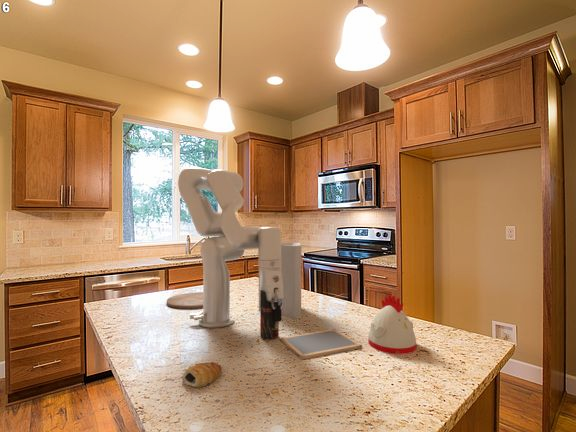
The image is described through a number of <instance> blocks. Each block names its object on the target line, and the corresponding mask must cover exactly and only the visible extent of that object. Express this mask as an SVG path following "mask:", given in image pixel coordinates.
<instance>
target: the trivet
mask: <svg viewBox="0 0 576 432" xmlns="http://www.w3.org/2000/svg"><path fill="white" fill-rule="evenodd" d="M166 306H167V307H169V308H172V309H177V310H198V309H201V310H202V309H203V291H202V292H201V291H199V292H196V291H195V292H188V293H187V292H186V293H179V294H175V295H173V296H170V297H168V298H167V299H166Z"/></svg>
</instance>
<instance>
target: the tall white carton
mask: <svg viewBox="0 0 576 432" xmlns="http://www.w3.org/2000/svg"><path fill="white" fill-rule="evenodd" d="M281 259H282V269H280V270H281V273H282V280H283V296H284V299H283V300H282V309H281V317H283V318H287V319H292V320H296V319H298V318H301V317H302V244H301V242H281ZM260 271H261V270H259V269H258V312H260Z"/></svg>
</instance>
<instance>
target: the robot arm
mask: <svg viewBox="0 0 576 432" xmlns="http://www.w3.org/2000/svg"><path fill="white" fill-rule="evenodd" d="M177 186H178V191H179V195H180V197H181V198H182V200H183V201H184V204H185V205H186V207H187V210H188V212H189V215H190V217H191V220H192V222H193V225H194V227H195V231H196V232H197V234H199V236H201V237H205V238H206V237H208V238H206V239H205V240H204V241H203V242H201V245H200V256H201V261H202V270H203V272H202V273H203V277H202V279H203V290H202V292H203V308H201V311H199V312H197V313H189V319H190V320H194V321H198V324H199V326H200V327H204V328H210V329H211V328H213V329H215V328H223V327H226V326H227V327H228V326H230V325H232V324H233V323H234V322H235V319H234V316H232V315H230V314H231V313H230V311H231V309H230V307H231V305H230V303H231V301H230V299H231V297H230V296H231V295H230V292H231V290H230V289H231V286H230V285H231V281H230V280H231V279H230V277H231V275H230V270H229V268H228V266H227V264H226V262H230V261H235V260H236V261H237V260H239V259H240V258H242V257H243V255H244V254H245V250H249V249H257V251H258V255H257V256H258V271H259V270H261V271H260V290H263V291H264V292H266V298H267V301H269V302H271V305H272V309H271V321H272V322H282V319H283V318H282V316H281V309H282V300H283V299H284V296H283V280H282V273H281V270H280V269H282V259H281V243H282V230H281V228H280V227H279V226H256V225H249V226H248V225H247V226H246V225H244V226H242V225H241V223H240V221H239V220H238V218H237V216H236V212H237V211H239V210H240V209H241V208H242V207H243V205H244V203H245V200H244V197H243V196H242V194H241V193H240V192H241V191H242V190H243V188H244V180H243V177H242V176H241V175H240V174H239V173H238V172H235V171H231V170H226V169H209V168H202V167H196V166H190V167H185V168H183V169H182V170H181V171H180V173H179V175H178V180H177ZM202 191H210V192H211V193H212V195H213V196H214V198H215V200H216V202H217V204H218V205H219V207H220V209H221V210H222V211H219V212H218V211H215V210H214V209H213V207H212V205H211V202H210V200H209V199H208V197H207V196H206V195H205V194H204V193H203V192H202ZM276 298H277V299H276ZM274 302H276V303H275V305H274Z"/></svg>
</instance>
